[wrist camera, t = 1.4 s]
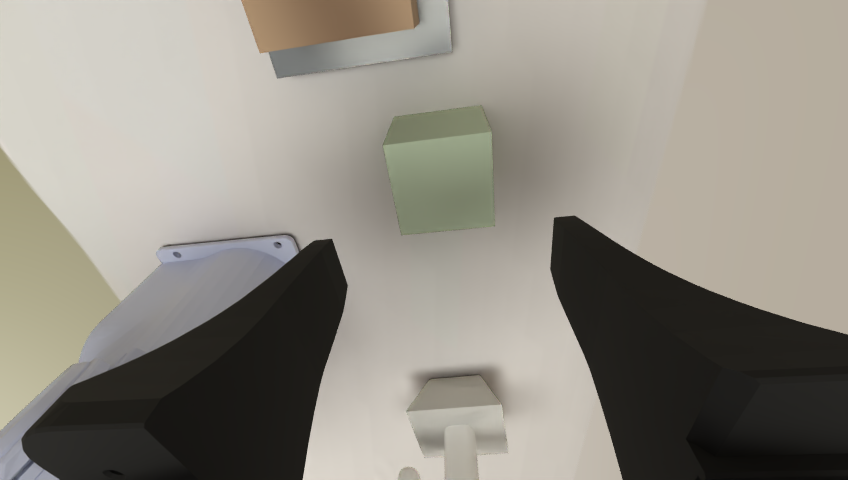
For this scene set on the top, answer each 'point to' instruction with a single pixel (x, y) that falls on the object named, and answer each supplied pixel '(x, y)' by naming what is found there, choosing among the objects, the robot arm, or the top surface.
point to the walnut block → (325, 20)
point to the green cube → (441, 170)
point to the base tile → (372, 45)
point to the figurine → (457, 425)
